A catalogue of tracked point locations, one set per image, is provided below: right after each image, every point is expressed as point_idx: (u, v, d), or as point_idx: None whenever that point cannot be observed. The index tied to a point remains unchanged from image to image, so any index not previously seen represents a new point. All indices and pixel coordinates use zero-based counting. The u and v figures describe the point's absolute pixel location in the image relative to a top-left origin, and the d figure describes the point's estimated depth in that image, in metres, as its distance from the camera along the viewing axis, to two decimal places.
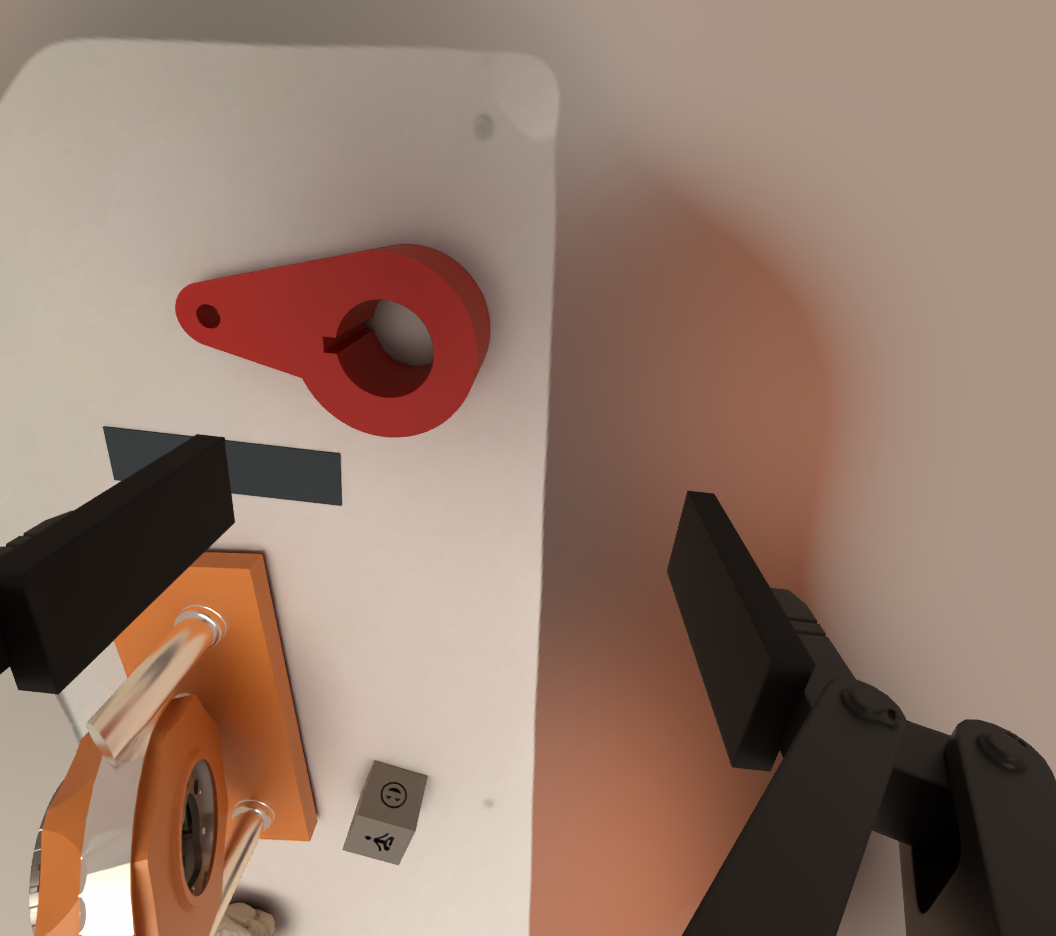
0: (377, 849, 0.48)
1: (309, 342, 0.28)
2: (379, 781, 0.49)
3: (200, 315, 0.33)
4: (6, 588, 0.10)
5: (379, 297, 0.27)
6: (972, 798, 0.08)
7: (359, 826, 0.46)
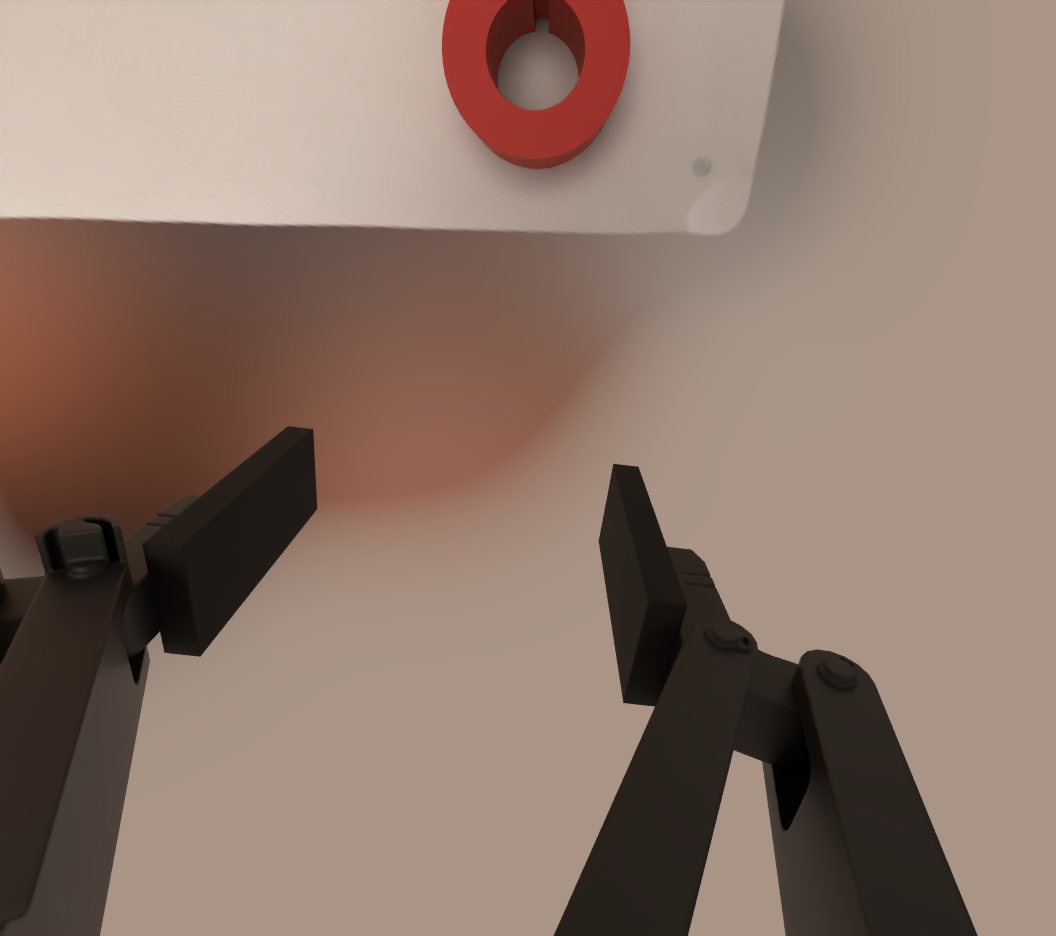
0: None
1: None
2: None
3: None
4: (166, 559, 0.11)
5: (587, 52, 0.28)
6: (816, 721, 0.09)
7: None
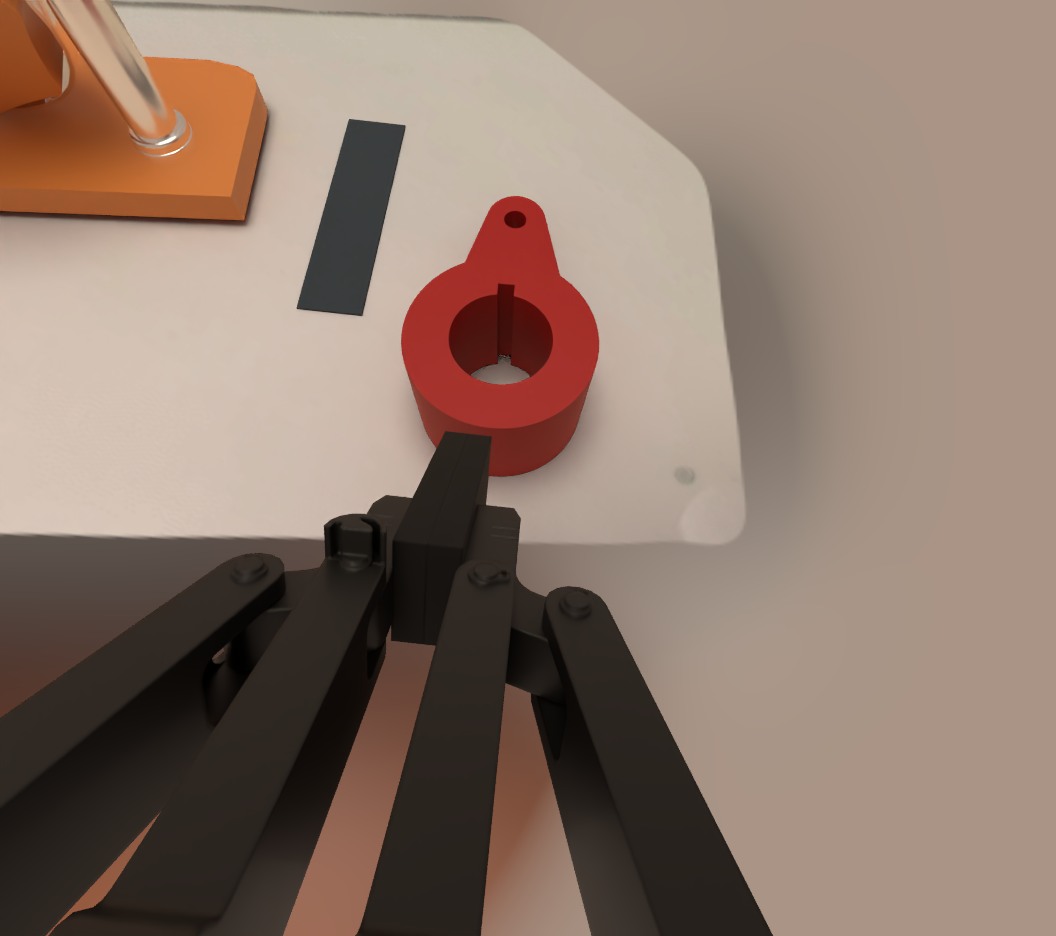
0: None
1: (508, 272, 0.28)
2: None
3: (515, 215, 0.35)
4: (411, 554, 0.12)
5: (555, 338, 0.27)
6: (564, 655, 0.09)
7: None
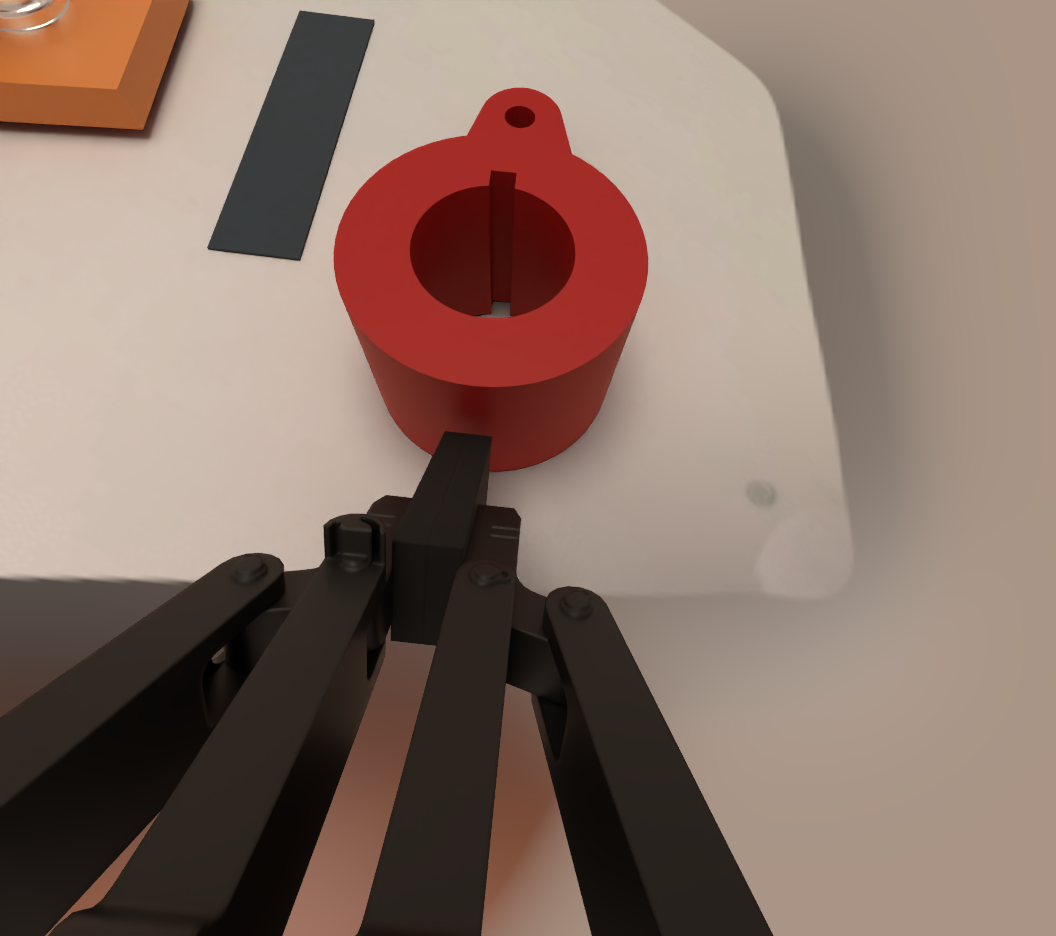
0: None
1: (507, 155, 0.18)
2: None
3: (519, 114, 0.26)
4: (410, 554, 0.12)
5: (578, 251, 0.17)
6: (564, 655, 0.09)
7: None
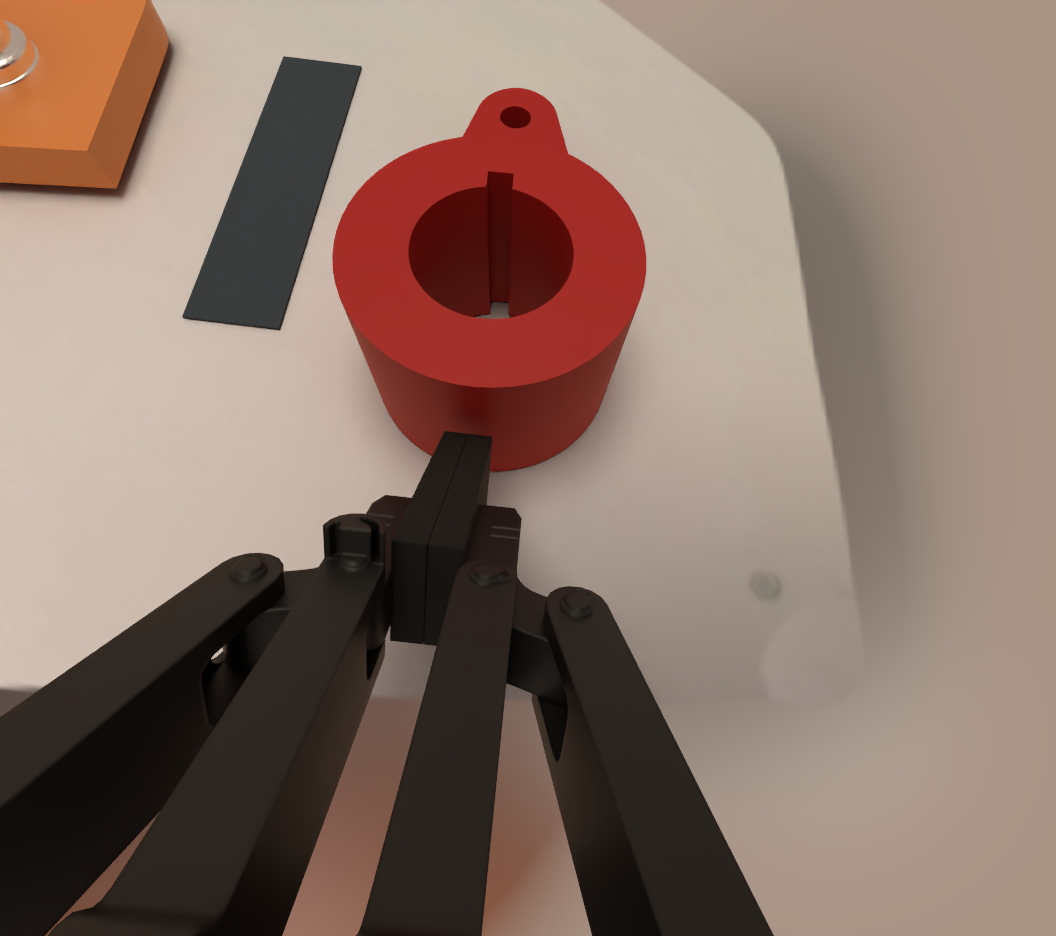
0: None
1: (504, 156, 0.18)
2: None
3: (515, 114, 0.26)
4: (410, 554, 0.12)
5: (576, 251, 0.17)
6: (565, 655, 0.09)
7: None
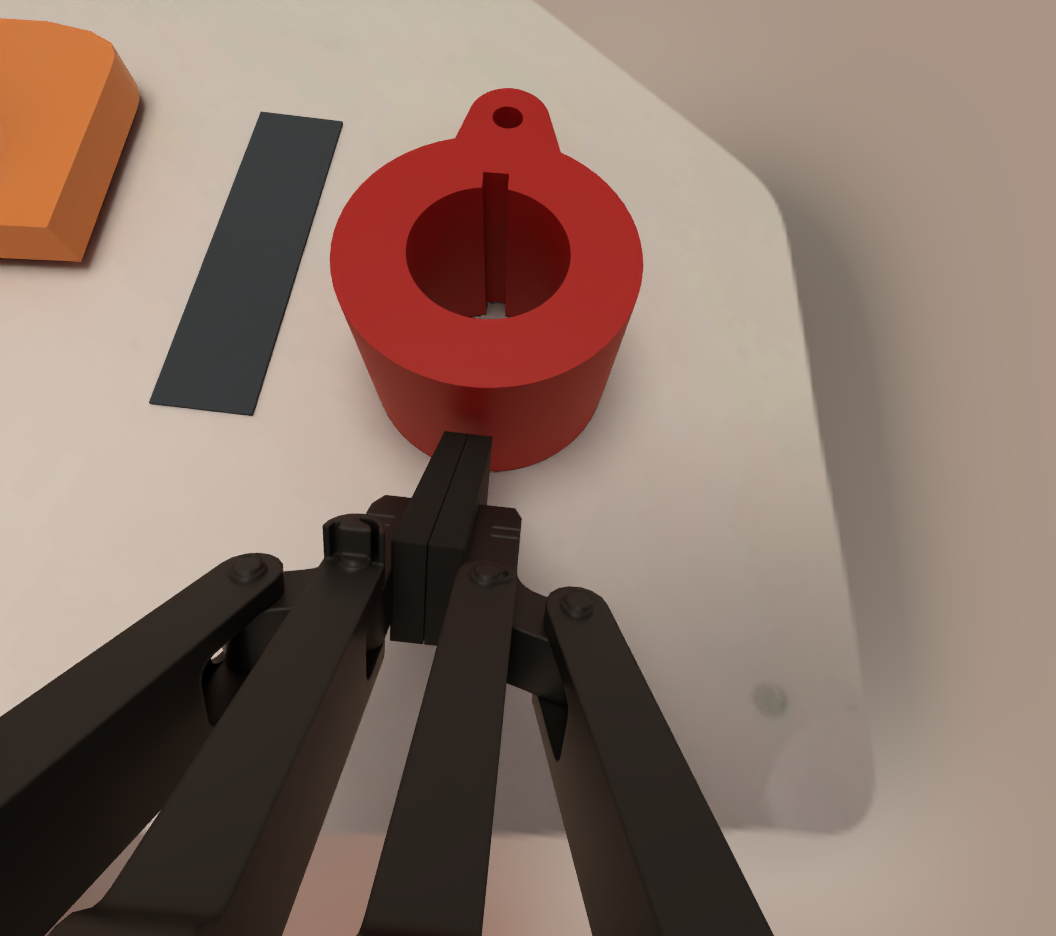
0: None
1: (498, 157, 0.18)
2: None
3: (507, 114, 0.26)
4: (410, 554, 0.12)
5: (573, 250, 0.17)
6: (565, 655, 0.09)
7: None
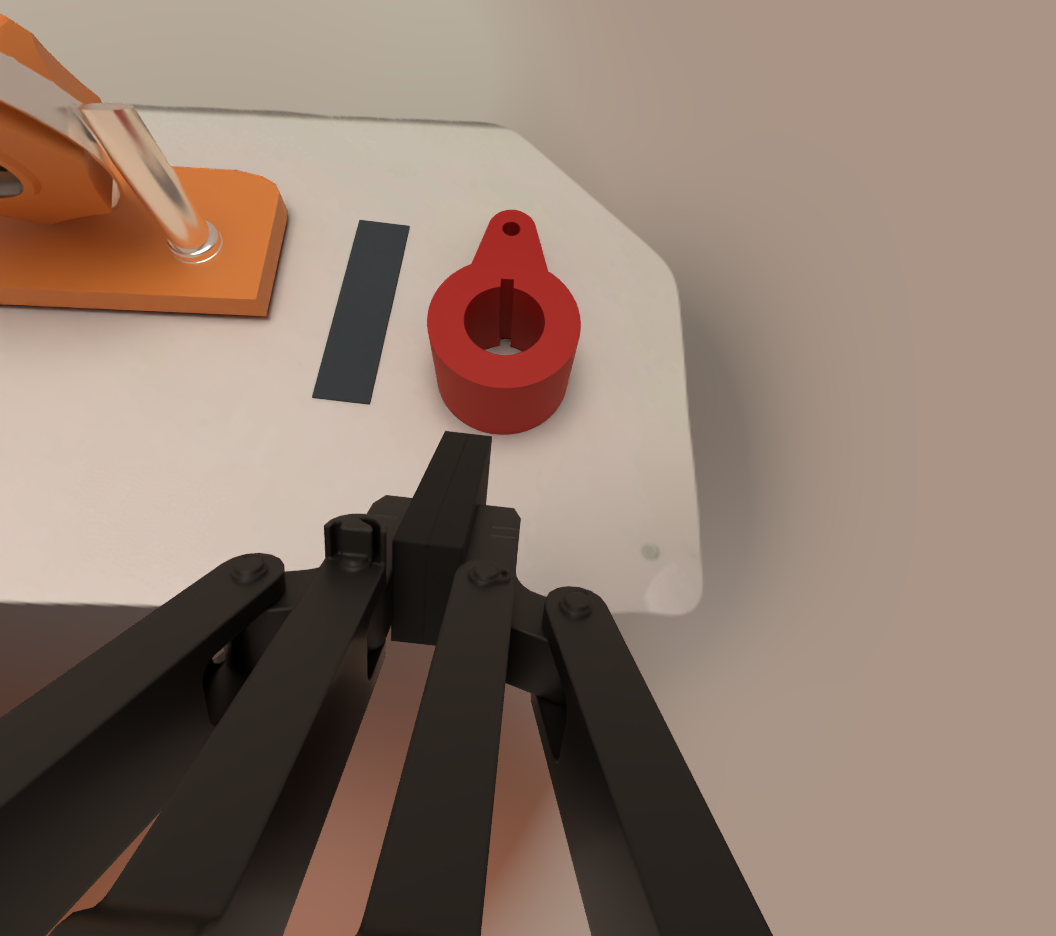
0: None
1: (508, 269, 0.36)
2: None
3: (511, 225, 0.43)
4: (411, 554, 0.12)
5: (546, 320, 0.35)
6: (564, 655, 0.09)
7: None
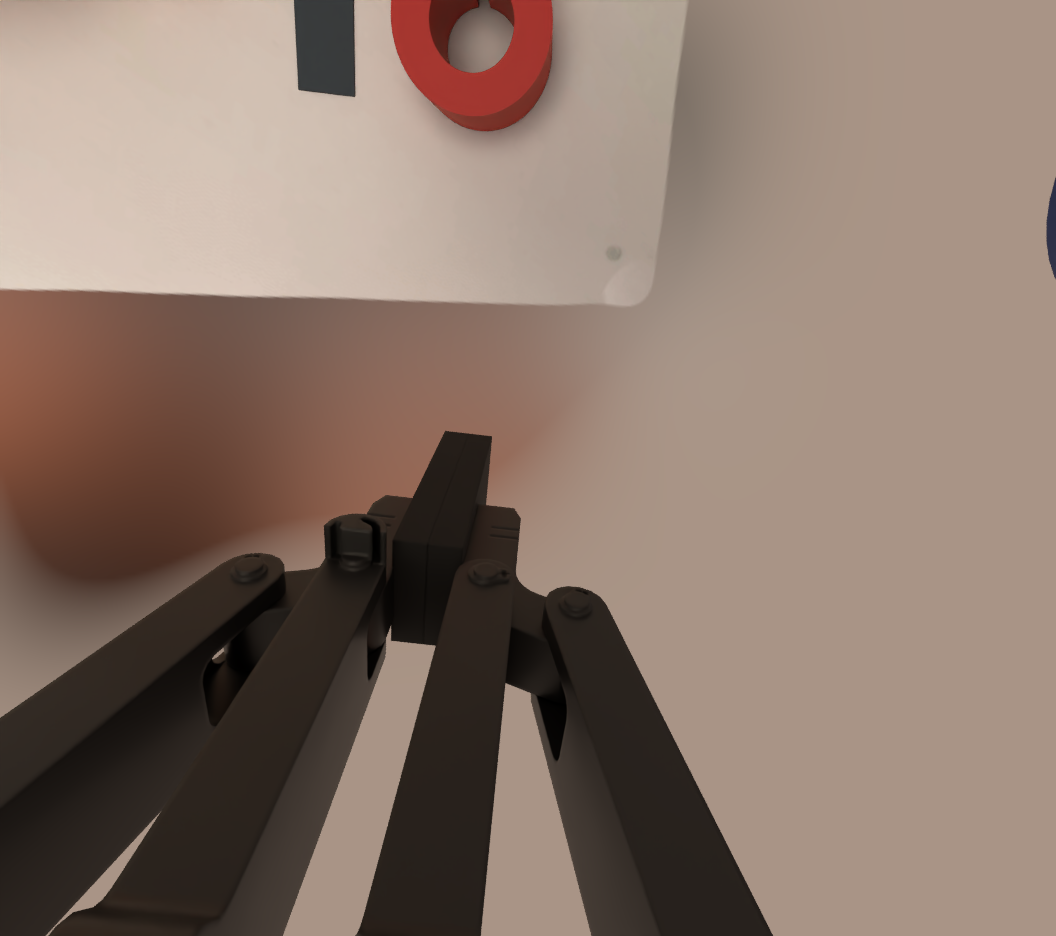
0: None
1: None
2: None
3: None
4: (411, 554, 0.12)
5: (515, 19, 0.32)
6: (564, 655, 0.09)
7: None
